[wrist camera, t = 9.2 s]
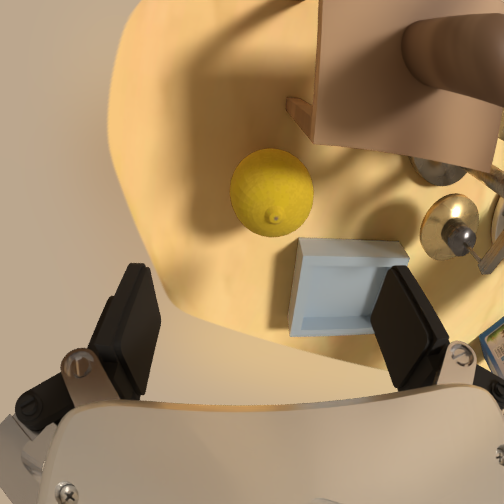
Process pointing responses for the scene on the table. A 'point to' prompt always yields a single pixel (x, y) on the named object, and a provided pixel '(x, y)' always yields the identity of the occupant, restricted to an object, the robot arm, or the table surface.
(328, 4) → the wooden stool
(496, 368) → the milk carton
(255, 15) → the table surface
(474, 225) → the balance
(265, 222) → the lemon
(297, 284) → the dish
